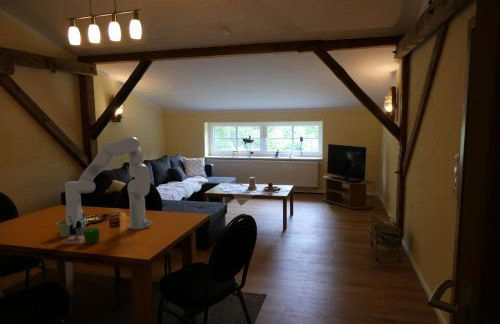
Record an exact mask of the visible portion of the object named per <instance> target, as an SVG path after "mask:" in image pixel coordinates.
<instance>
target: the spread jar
mask: <svg viewBox="0 0 500 324" xmlns="http://www.w3.org/2000/svg"><path fill="white" fill-rule="evenodd" d="M82 215H83V217H82V227H86V225H87V217H86V214H85V213H84V211H83V209H82ZM75 227H76V223H75Z"/></svg>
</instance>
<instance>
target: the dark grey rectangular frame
mask: <svg viewBox="0 0 500 324" xmlns="http://www.w3.org/2000/svg"><path fill="white" fill-rule="evenodd" d="M74 228H75V229H78V230H75V231H76V234H75V235H70V231H69V229H67V230H66V236H68V237H72V236H84V231H85V230H86V229H87V227H86V226H85V227H74Z"/></svg>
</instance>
